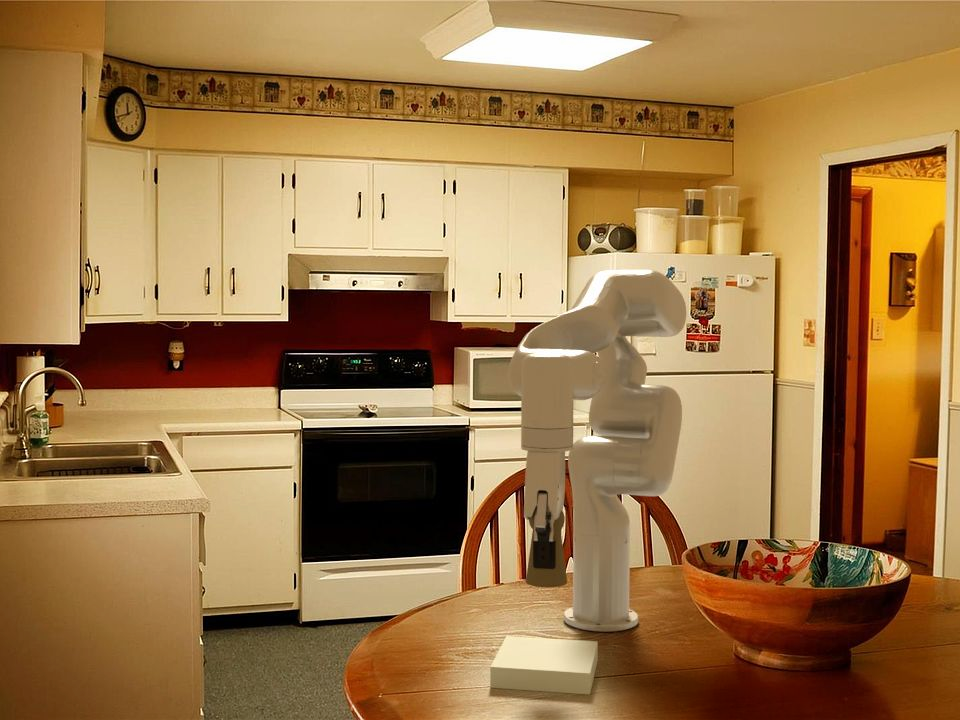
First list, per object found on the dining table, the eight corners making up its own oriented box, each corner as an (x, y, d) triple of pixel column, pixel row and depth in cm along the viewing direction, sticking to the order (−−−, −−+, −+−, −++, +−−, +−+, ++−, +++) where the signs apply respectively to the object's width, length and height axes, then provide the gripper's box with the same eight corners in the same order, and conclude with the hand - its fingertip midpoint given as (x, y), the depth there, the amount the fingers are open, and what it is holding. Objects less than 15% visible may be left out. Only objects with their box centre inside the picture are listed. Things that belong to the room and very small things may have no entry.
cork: (564, 576, 158) (565, 502, 157) (569, 587, 152) (570, 511, 151) (524, 576, 158) (524, 503, 157) (527, 587, 152) (527, 511, 151)
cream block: (506, 655, 164) (506, 635, 164) (597, 660, 161) (597, 641, 161) (490, 687, 150) (490, 666, 150) (589, 694, 148) (589, 673, 147)
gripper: (529, 431, 163) (528, 549, 164) (512, 446, 146) (511, 577, 147) (578, 432, 161) (577, 551, 162) (566, 447, 145) (566, 580, 146)
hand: (546, 562), depth 155 cm, fingers closed on cork, 4 cm apart
